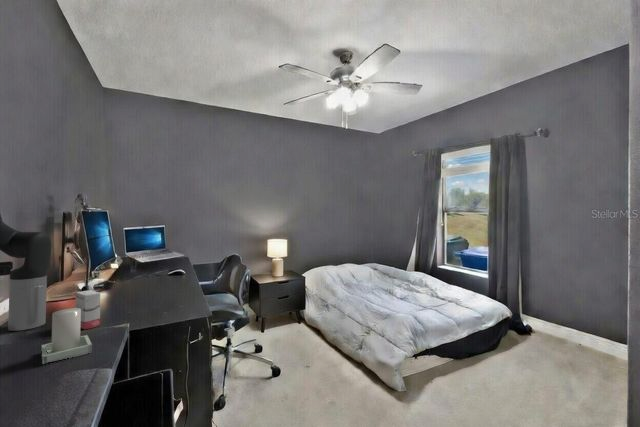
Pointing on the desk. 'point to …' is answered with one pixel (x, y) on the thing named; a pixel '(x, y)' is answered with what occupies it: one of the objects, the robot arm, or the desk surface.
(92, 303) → the ink box
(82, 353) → the tray
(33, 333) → the desk surface
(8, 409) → the desk surface
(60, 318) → the white pillar candle
